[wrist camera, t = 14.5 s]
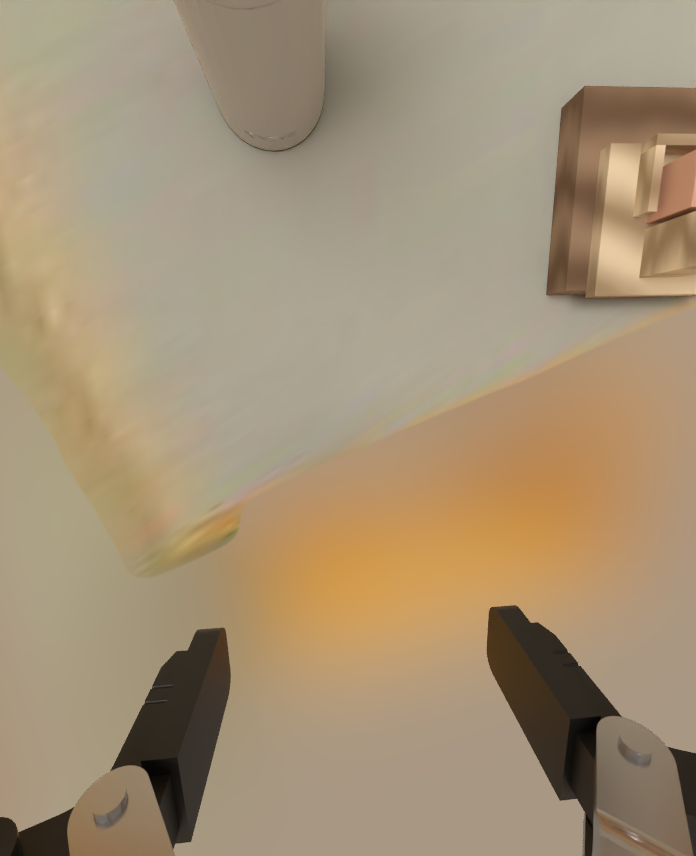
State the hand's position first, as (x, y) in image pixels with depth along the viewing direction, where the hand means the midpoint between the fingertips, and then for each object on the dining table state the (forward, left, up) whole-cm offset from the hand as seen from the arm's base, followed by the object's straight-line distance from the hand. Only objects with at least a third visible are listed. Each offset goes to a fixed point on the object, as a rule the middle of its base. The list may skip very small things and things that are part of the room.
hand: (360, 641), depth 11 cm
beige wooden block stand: (-18, +30, -25) cm, 43 cm away
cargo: (-20, +30, -24) cm, 43 cm away
